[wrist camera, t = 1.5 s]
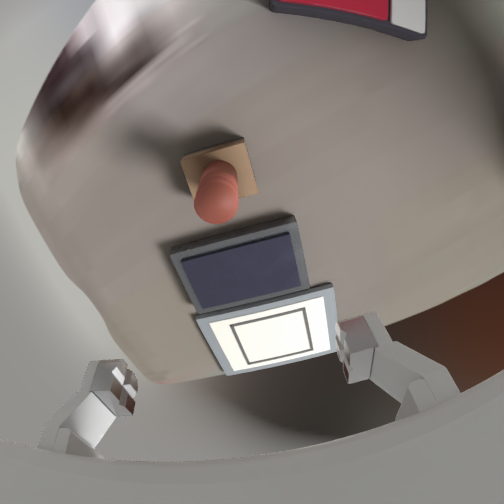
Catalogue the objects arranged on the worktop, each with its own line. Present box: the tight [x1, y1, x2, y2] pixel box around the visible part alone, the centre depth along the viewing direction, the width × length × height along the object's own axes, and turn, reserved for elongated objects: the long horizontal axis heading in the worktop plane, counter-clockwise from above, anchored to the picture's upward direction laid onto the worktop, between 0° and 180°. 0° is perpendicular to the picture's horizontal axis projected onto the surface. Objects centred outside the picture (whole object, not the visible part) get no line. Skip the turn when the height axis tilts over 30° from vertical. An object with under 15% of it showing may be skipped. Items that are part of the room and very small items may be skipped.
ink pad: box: [170, 215, 310, 314], centre depth 35 cm, size 14×9×2 cm, turn 105°
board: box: [196, 283, 337, 376], centre depth 42 cm, size 18×13×1 cm
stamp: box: [180, 137, 258, 224], centre depth 26 cm, size 6×5×9 cm
